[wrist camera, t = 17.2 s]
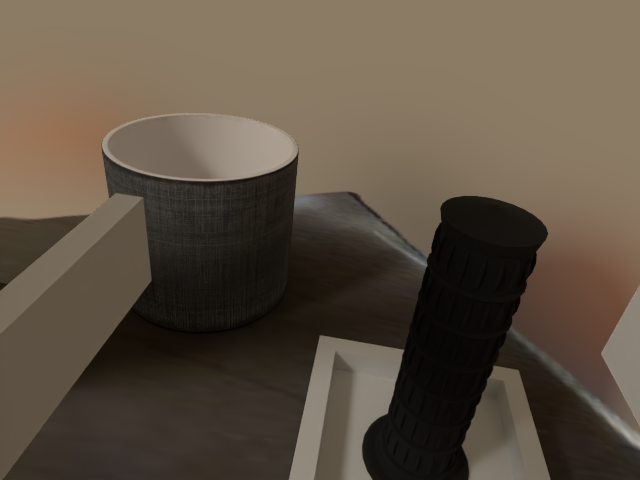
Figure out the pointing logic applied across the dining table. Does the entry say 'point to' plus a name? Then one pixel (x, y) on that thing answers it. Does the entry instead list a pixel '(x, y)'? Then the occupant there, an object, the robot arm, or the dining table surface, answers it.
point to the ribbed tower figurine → (454, 338)
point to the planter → (208, 214)
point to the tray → (373, 402)
